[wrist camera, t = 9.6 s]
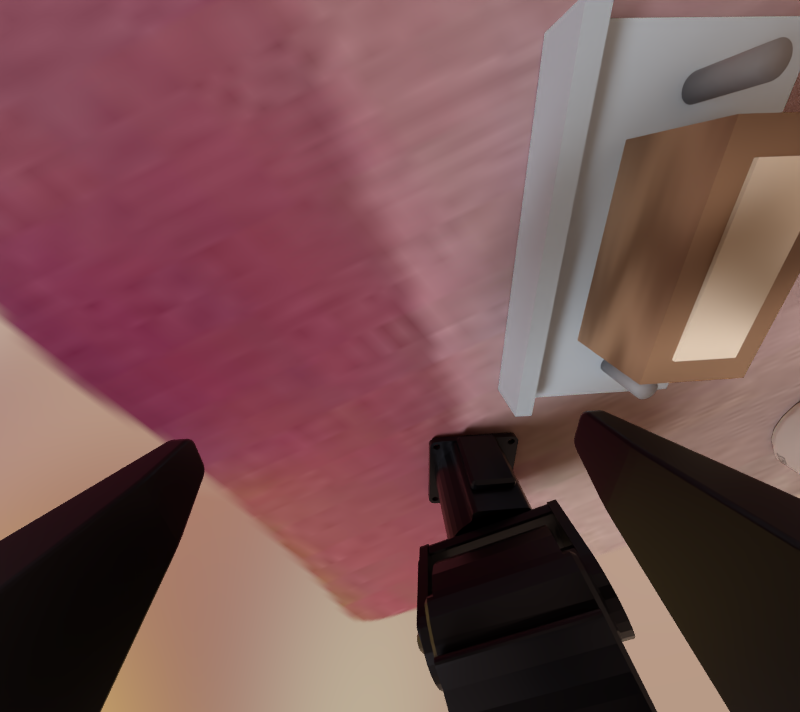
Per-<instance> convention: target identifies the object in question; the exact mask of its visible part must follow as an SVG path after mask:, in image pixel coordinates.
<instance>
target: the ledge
mask: <svg viewBox="0 0 800 712" xmlns="http://www.w3.org/2000/svg"><path fill="white" fill-rule="evenodd" d="M613 1H614V0H578V1H577V2H576V3H575V4H574V5H573V6H572V7H571V8H570V9H569V10H568V11H567V12H566V13H565V14H564V15H563V16H562V17H561V18H560V19H559V20H558V21H557V22H556V23H554V24H553V25H552V26H551V27H550V28H549V29H548V30H547V31H546V32H545V35H544V42H543V50H542V58H541V65H540V73H539V81H538V88H537V96H536V104H535V111H534V119H533V126H532V134H531V142H530V149H529V157H528V165H527V172H526V180H525V188H524V195H523V203H522V211H521V218H520V226H519V234H518V241H517V249H516V257H515V264H514V272H513V279H512V287H511V295H510V302H509V310H508V318H507V325H506V333H505V341H504V348H503V356H502V364H501V371H500V379H499V387H498V390H499V392H500V393H501V395H502V396H503V398H504V400H505V401H506V403H507V404H508V406H509V407H510V409H511V411H512V412H513V414H514V415H515V417H519V416H532V411H533V406H534V401H535V397H550V396H565V395H580V394H595V393H610V392H626V391H629V392H631V393H632V394H633V395H635V396H636V397H637V398H639V399H646V398H649V397H651V396H652V395H653V394H654V393H655V392H656V391H657V389H666V388H667V386H668V384H669V383H658V384H643V385H639V384H638V383H636V382H635V381H633V380H632V379H631V378H629V377H628V376H626V375H625V374H624V373H622V372H621V371H619V370H618V369H617V368H615V367H614V366H613V365H611V364H610V363H608V362H607V361H606V360H604V359H603V358H601V357H600V356H599V355H597V354H596V353H594V352H593V351H592V350H590V349H589V348H587V347H586V346H585V345H583V344H582V343H580V342H579V341H578V340H577V339H578V335H579V331H580V327H581V323H582V319H583V315H584V311H585V307H586V302H587V298H588V294H589V290H590V286H591V282H592V278H593V274H594V269H595V265H596V261H597V257H598V253H599V249H600V245H601V241H602V236H603V232H604V228H605V224H606V220H607V216H608V212H609V208H610V204H611V199H612V195H613V191H614V187H615V183H616V179H617V175H618V171H619V166H620V162H621V158H622V154H623V150H624V146H625V142H626V140H627V139H631V138H635V137H640V136H644V135H649V134H653V133H657V132H662V131H666V130H670V129H675V128H679V127H683V126H688V125H692V124H697V123H701V122H705V121H710V120H714V119H718V118H723V117H727V116H731V115H736V114H748V113H781V112H783V110H784V107H785V105H786V103H787V100H788V98H789V96H790V93H791V91H792V88H793V86H794V84H795V81H796V79H797V76H798V74H799V72H800V16H762V17H672V18H610V16H611V11H612V6H613Z"/></svg>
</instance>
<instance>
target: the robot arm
mask: <svg viewBox="0 0 800 712" xmlns="http://www.w3.org/2000/svg"><path fill="white" fill-rule="evenodd" d="M510 439H511V440H510ZM574 443H575V447H576V450H577V452H578V454H579V456H580V458H581V460H582V462H583V464H584V466H585V468H586V470H587V472H588V474H589V476H590V478H591V480H592V482H593V484H594V486H595V489H596V491H597V493H598V495H599V497H600V499H601V501H602V502H603V504H604V506H605V508H606V510H607V512H608V513H609V515H610V517H611V519H612V520H613V522H614V523H615V525H616V527H617V528H618V530H619V532H620V533H621V535H622V536H623V538H624V540H625V541H626V543H627V545H628V546H629V548H630V549H631V551H632V553H633V554H634V556H635V557H636V559H637V561H638V563H639V564H640V566H641V567H642V569H643V571H644V572H645V574H646V576H647V577H648V579H649V580H650V582H651V584H652V585H653V587H654V588H655V590H656V592H657V593H658V595H659V597H660V598H661V600H662V602H663V603H664V605H665V606H666V608H667V610H668V611H669V613H670V615H671V616H672V617H673V619H674V621H675V623H676V624H677V626H678V628H679V629H680V631H681V633H682V634H683V636H684V637H685V639H686V641H687V642H688V644H689V646H690V647H691V649H692V650H693V652H694V654H695V655H696V657H697V658H698V660H699V662H700V663H701V665H702V666H703V668H704V670H705V672H706V673H707V675H708V676H709V678H710V680H711V681H712V683H713V684H714V686H715V688H716V689H717V691H718V693H719V694H720V696H721V698H722V699H723V701H724V702H725V704H726V706H727V707H728V709H729V711H730V712H800V498H797V497H795V496H793V495H791V494H788V493H786V492H784V491H782V490H779V489H777V488H775V487H773V486H770V485H768V484H766V483H764V482H761V481H759V480H757V479H755V478H753V477H750V476H748V475H746V474H744V473H741V472H739V471H737V470H735V469H732V468H730V467H728V466H726V465H723V464H721V463H719V462H717V461H714V460H712V459H710V458H708V457H705V456H703V455H701V454H699V453H696V452H694V451H692V450H690V449H688V448H685V447H683V446H681V445H679V444H676V443H674V442H672V441H670V440H667V439H665V438H663V437H661V436H658V435H656V434H654V433H652V432H649V431H647V430H645V429H643V428H640V427H638V426H636V425H634V424H631V423H629V422H627V421H625V420H623V419H620V418H618V417H616V416H614V415H611V414H609V413H607V412H604V411H600V410H597V411H586V412H583V413H582V415H581V417H580V420H579V423H578V427H577V430H576V434H575V438H574ZM436 444H438V445H437V446H434V445H436ZM517 444H518V439H517V437H516V435H515V434H514V433H499V434H485V435H471V436H457V437H443V438H434V439H432V440H431V441H430V442H429V494H428V495H429V500H430V502H432V503H440V504H441V509H442V514H443V519H444V524H445V529H446V533H447V538H448V539H446V540H443V541H441V542H438V543H435V544H432V545H429V544H427V545H424V546H421V547H420V557H419V562H418V596H417V630H418V635H417V642H418V646H419V649H420V651H421V652H422V653H423V654H424V655H425V658H426V662H427V665H428V668H429V671H430V673H431V676H432V678H433V680H434V682H435V684H436V686H437V687H438V688H439V690H441V691H443V692H444V696H445V699H446V703H447V706H448V711H449V712H657V711H656V709H655V707H654V705H653V703H652V701H651V699H650V697H649V695H648V693H647V691H646V689H645V687H644V685H643V683H642V681H641V679H640V677H639V675H638V673H637V671H636V669H635V667H634V665H633V663H632V661H631V659H630V657H629V655H628V653H627V651H626V649H625V647H624V645H623V643H622V642H623V641H627V640H630V639H634V638H635V634H634V631H633V629H632V626H631V624H630V622H629V619H628V617H627V615H626V613H625V611H624V609H623V607H622V605H621V603H620V601H619V599H618V597H617V595H616V593H615V591H614V590H613V588H612V586H611V584H610V582H609V580H608V579H607V577H606V575H605V573H604V572H603V570H602V569H601V567H600V565H599V563H598V562H597V560H596V559H595V557H594V556H593V554H592V552H591V551H590V550H589V548H588V547H587V545H586V544H585V542H584V541H583V539H582V538H581V536H580V535H579V533H578V532H577V530H576V529H575V527H574V526H573V524H572V523H571V521H570V520H569V518H568V517H567V516H566V514H565V513H564V511H563V510H562V508H561V507H560V505H559V504H558V502H557V501H556V499H555V500H552V501H550V502H547V504H546V505H543V506H541V507H538V508H535V509H532V508H531V506H530V504H529V502H528V500H527V498H526V496H525V494H524V492H523V490H522V488H521V486H520V484H519V482H518V480H517V478H516V476H515V474H514V472H513V466H514V461H515V455H516V450H517ZM203 476H204V464H203V462H202V460H201V457H200V455H199V453H198V450H197V448H196V446H195V443H194V442H193V441H192V440H190V439H178V440H170V441H168V442H166V443H164V444H163V445H161V446H159V447H158V448H156V449H154V450H153V451H151V452H149V453H148V454H146V455H144V456H142V457H141V458H139V459H137V460H136V461H134V462H132V463H131V464H129V465H127V466H126V467H124V468H122V469H120V470H119V471H117V472H116V473H114V474H112V475H111V476H109V477H107V478H105V479H104V480H102V481H100V482H99V483H97V484H95V485H94V486H92V487H90V488H89V489H87V490H85V491H83V492H82V493H80V494H78V495H77V496H75V497H73V498H72V499H70V500H68V501H67V502H65V503H63V504H61V505H60V506H58V507H56V508H55V509H53V510H51V511H50V512H48V513H46V514H45V515H43V516H41V517H40V518H38V519H36V520H34V521H33V522H31V523H29V524H28V525H26V526H24V527H23V528H21V529H19V530H18V531H16V532H14V533H12V534H11V535H9V536H7V537H6V538H4V539H2V540H1V541H0V712H101V710H102V708H103V705H104V703H105V701H106V699H107V697H108V695H109V693H110V691H111V688H112V686H113V684H114V682H115V680H116V678H117V676H118V673H119V671H120V669H121V667H122V665H123V663H124V661H125V659H126V656H127V654H128V652H129V650H130V648H131V646H132V644H133V641H134V639H135V637H136V635H137V633H138V631H139V629H140V627H141V624H142V622H143V620H144V618H145V616H146V614H147V612H148V610H149V607H150V605H151V603H152V601H153V599H154V597H155V594H156V592H157V590H158V588H159V586H160V584H161V582H162V580H163V578H164V575H165V573H166V571H167V569H168V567H169V565H170V563H171V561H172V558H173V556H174V554H175V552H176V549H177V547H178V545H179V542H180V540H181V537H182V535H183V532H184V529H185V527H186V524H187V521H188V518H189V515H190V513H191V510H192V507H193V504H194V501H195V499H196V496H197V493H198V490H199V488H200V484H201V482H202V479H203Z"/></svg>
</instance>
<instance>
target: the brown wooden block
mask: <svg viewBox="0 0 800 712" xmlns="http://www.w3.org/2000/svg"><path fill="white" fill-rule="evenodd" d="M799 273H800V112H781V113H748V114H736V115H731V116H727V117H723V118H718V119H714V120H710V121H705V122H701V123H697V124H692V125H688V126H683V127H679V128H675V129H670V130H666V131H662V132H657V133H653V134H649V135H644V136H640V137H635V138H631V139H627V140H626V142H625V146H624V150H623V154H622V158H621V162H620V166H619V171H618V175H617V179H616V183H615V187H614V191H613V195H612V199H611V204H610V208H609V212H608V216H607V220H606V224H605V228H604V232H603V236H602V241H601V245H600V249H599V253H598V257H597V261H596V265H595V269H594V274H593V278H592V282H591V286H590V290H589V294H588V298H587V302H586V307H585V311H584V315H583V319H582V323H581V327H580V331H579V335H578V339H577V340H578V341H579V342H580V343H582V344H583V345H585V346H586V347H587V348H589V349H590V350H592V351H593V352H594V353H596V354H597V355H599V356H600V357H601V358H603V359H604V360H606V361H607V362H608V363H610V364H611V365H613V366H614V367H615V368H617V369H618V370H619V371H621V372H622V373H624V374H625V375H626V376H628V377H629V378H631V379H632V380H633V381H635V382H636V383H638V384H639V385H643V384H658V383H673V382H688V381H702V380H717V379H732V378H743V377H744V375H745V373H746V372H747V370H748V368H749V366H750V364H751V362H752V360H753V359H754V357H755V355H756V353H757V351H758V349H759V347H760V346H761V344H762V342H763V340H764V338H765V336H766V334H767V333H768V331H769V329H770V327H771V325H772V323H773V321H774V320H775V318H776V316H777V314H778V312H779V310H780V308H781V307H782V305H783V303H784V301H785V299H786V297H787V295H788V293H789V292H790V290H791V288H792V286H793V284H794V282H795V280H796V279H797V277H798V275H799Z"/></svg>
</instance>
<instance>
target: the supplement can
mask: <svg viewBox="0 0 800 712" xmlns="http://www.w3.org/2000/svg"><path fill="white" fill-rule="evenodd" d="M771 441H772V444H773V451H774V454H775V457H776V459H777V460H778V461H780V462H782V463H783V464H785V465H786V466H788V467H789V468H791V469H792V470H794V471H795V472H797V473H798V474H800V402H799V403H798V404H796V405H795V406H794V407H793V408H792V409H791V410H789V411H788V412H787V413H786V414H785V415H784V416H783V417H782V418H781V420H780V421H779V423H778V424H777V426H776V427H775V429H774V431H773V435H772V439H771Z"/></svg>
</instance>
